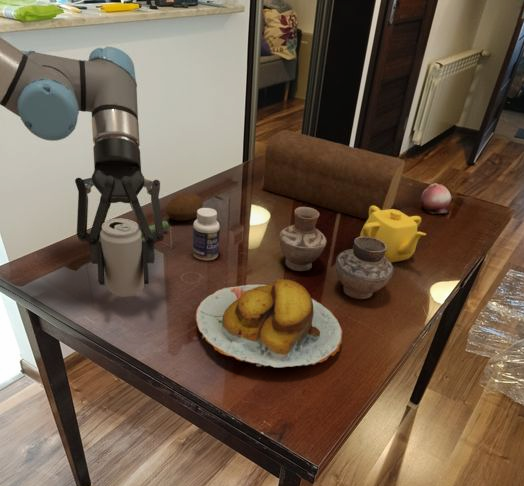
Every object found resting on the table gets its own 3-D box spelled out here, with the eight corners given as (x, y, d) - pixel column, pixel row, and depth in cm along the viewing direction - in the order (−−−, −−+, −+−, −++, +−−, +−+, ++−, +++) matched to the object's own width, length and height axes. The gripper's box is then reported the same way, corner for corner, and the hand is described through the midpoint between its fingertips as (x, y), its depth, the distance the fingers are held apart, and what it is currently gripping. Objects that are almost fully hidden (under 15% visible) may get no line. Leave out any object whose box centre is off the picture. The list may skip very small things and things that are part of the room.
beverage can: (124, 274, 88) (119, 212, 80) (152, 287, 86) (149, 225, 78) (98, 289, 83) (90, 226, 76) (126, 303, 81) (121, 239, 74)
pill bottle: (208, 264, 100) (210, 220, 94) (187, 255, 102) (187, 212, 95) (223, 254, 104) (225, 211, 97) (202, 246, 105) (203, 203, 99)
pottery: (292, 247, 109) (300, 196, 101) (394, 291, 99) (411, 238, 92) (263, 266, 102) (270, 212, 94) (370, 315, 92) (386, 260, 84)
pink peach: (427, 202, 137) (435, 177, 133) (451, 212, 133) (461, 186, 129) (412, 208, 132) (421, 183, 128) (437, 219, 129) (447, 193, 124)
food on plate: (171, 311, 87) (170, 280, 82) (283, 279, 99) (287, 251, 94) (247, 402, 71) (250, 370, 67) (368, 352, 83) (378, 322, 79)
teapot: (419, 250, 114) (433, 208, 108) (412, 275, 105) (427, 231, 98) (362, 235, 117) (373, 194, 111) (351, 258, 108) (361, 215, 101)
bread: (281, 175, 142) (287, 123, 132) (393, 206, 132) (408, 154, 123) (259, 190, 132) (265, 135, 122) (379, 225, 122) (395, 169, 113)
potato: (209, 217, 116) (210, 192, 112) (182, 230, 110) (182, 204, 106) (188, 208, 119) (188, 183, 115) (161, 221, 112) (160, 195, 108)
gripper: (174, 158, 87) (182, 285, 85) (59, 155, 82) (65, 288, 81) (176, 138, 79) (185, 276, 78) (50, 132, 75) (57, 279, 74)
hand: (124, 282), depth 80 cm, fingers closed on beverage can, 6 cm apart
